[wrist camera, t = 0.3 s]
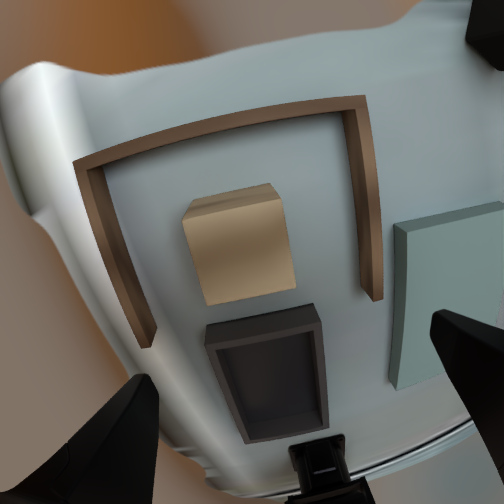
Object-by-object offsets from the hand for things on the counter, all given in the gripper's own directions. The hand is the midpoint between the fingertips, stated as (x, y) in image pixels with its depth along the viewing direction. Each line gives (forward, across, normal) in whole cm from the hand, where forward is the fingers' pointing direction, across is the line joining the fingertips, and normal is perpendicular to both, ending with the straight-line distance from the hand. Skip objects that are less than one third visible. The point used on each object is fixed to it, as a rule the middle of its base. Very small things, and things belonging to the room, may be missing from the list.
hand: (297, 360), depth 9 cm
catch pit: (+13, +1, +13) cm, 19 cm away
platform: (+13, -16, +10) cm, 23 cm away
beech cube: (+13, +1, 0) cm, 13 cm away
